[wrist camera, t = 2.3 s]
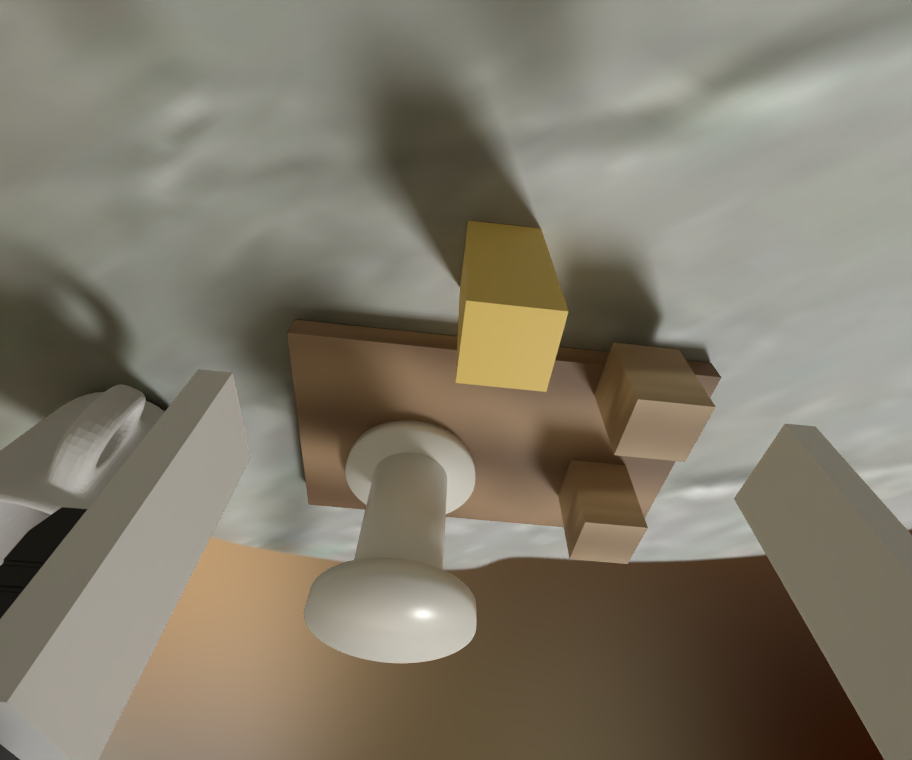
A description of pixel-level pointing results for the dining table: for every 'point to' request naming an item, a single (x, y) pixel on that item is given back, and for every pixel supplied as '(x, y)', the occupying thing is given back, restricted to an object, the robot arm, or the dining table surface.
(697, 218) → the dining table surface
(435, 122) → the dining table surface
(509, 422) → the board
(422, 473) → the knob
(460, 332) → the yellow rectangular block
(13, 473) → the cup
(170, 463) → the robot arm
